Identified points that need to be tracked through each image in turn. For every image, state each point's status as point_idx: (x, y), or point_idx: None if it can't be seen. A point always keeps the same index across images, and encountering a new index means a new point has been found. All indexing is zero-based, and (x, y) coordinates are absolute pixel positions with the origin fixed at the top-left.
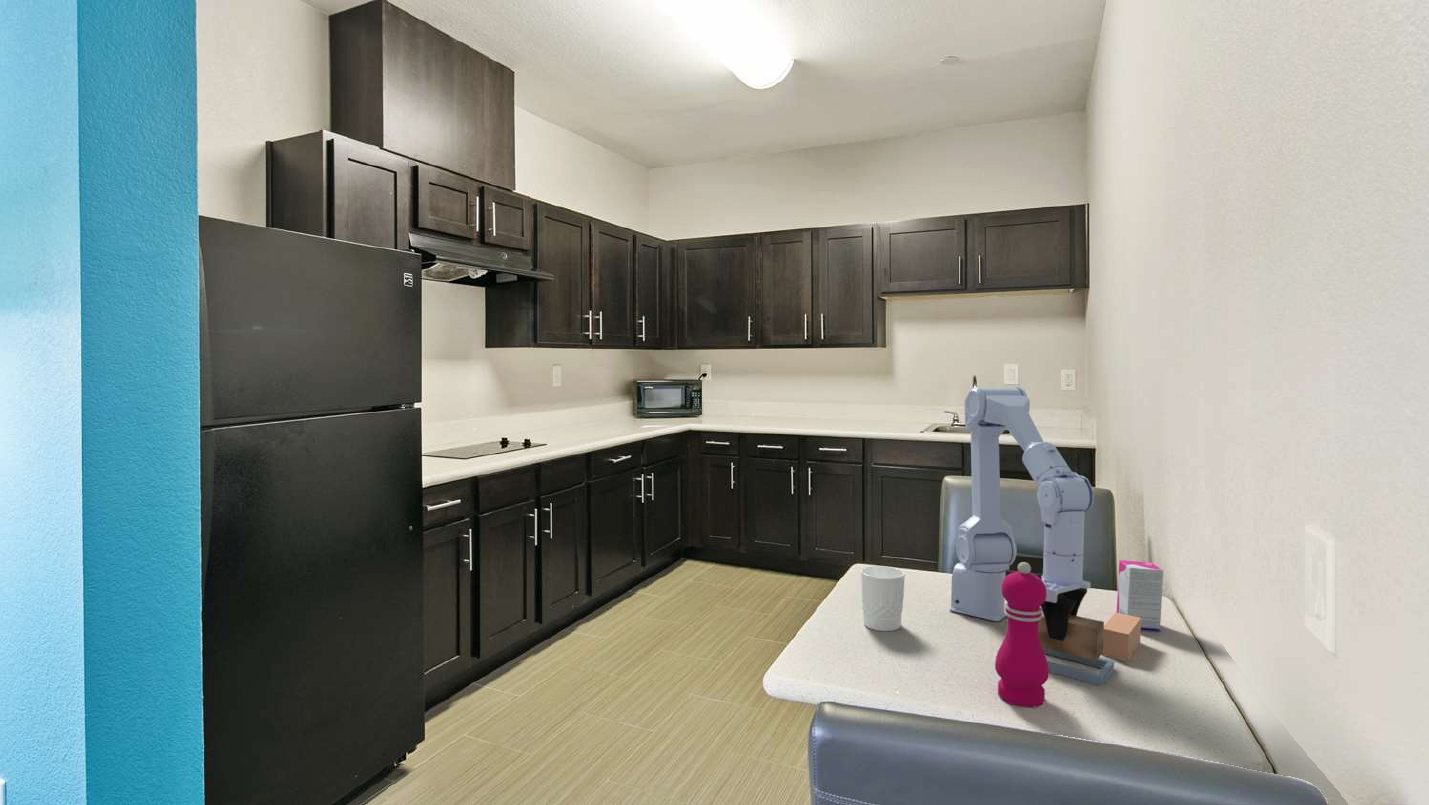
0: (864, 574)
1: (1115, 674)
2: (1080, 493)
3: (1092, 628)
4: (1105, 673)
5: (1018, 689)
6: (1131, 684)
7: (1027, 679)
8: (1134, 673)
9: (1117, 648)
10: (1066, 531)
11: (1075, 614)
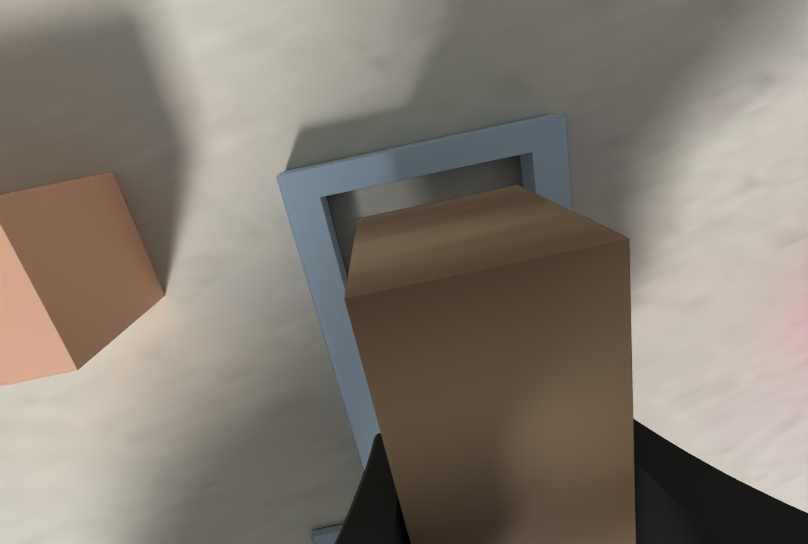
0: None
1: (350, 133)
2: None
3: (629, 283)
4: (489, 130)
5: None
6: (410, 15)
7: None
8: (248, 70)
9: (103, 235)
10: None
11: (396, 529)
